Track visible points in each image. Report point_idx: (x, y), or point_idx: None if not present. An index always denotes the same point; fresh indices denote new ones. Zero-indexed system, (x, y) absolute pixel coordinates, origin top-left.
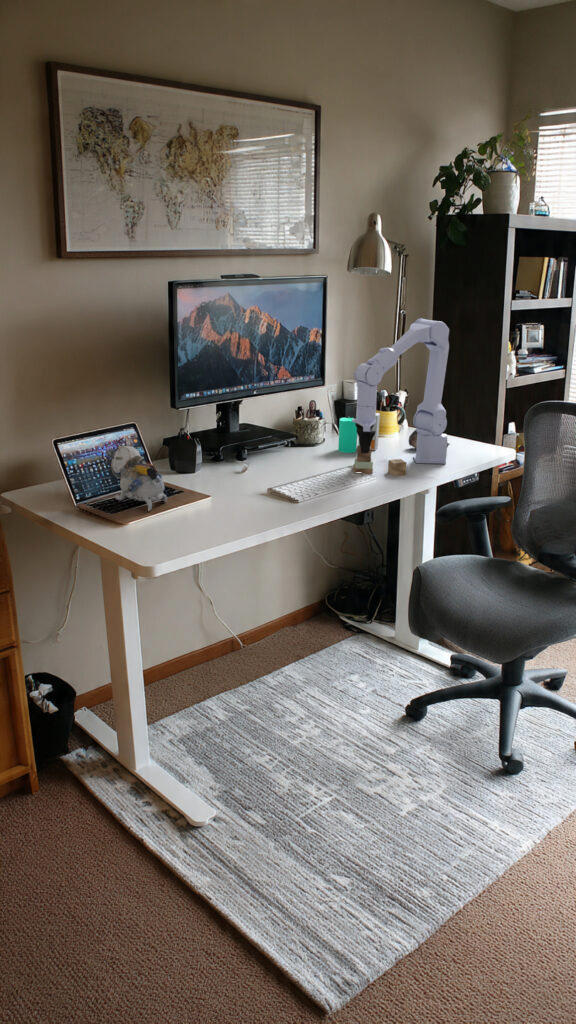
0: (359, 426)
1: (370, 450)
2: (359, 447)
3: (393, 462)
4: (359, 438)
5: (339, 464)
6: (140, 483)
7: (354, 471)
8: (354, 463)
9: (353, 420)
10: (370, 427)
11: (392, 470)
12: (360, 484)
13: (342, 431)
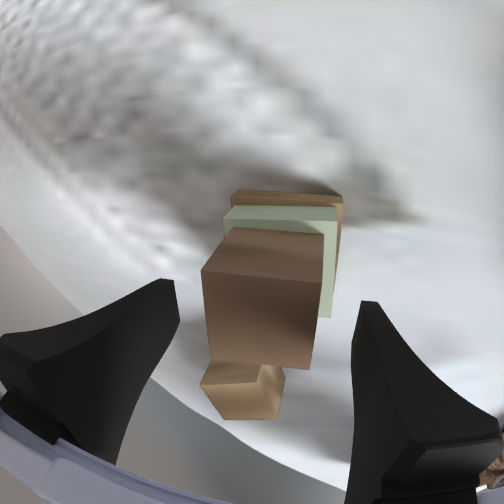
0: (389, 452)
1: (213, 344)
2: (245, 289)
3: (213, 386)
4: (56, 325)
5: (417, 125)
6: None
7: (235, 193)
8: (325, 208)
9: (44, 487)
10: (348, 495)
11: (222, 358)
12: (81, 206)
13: None
